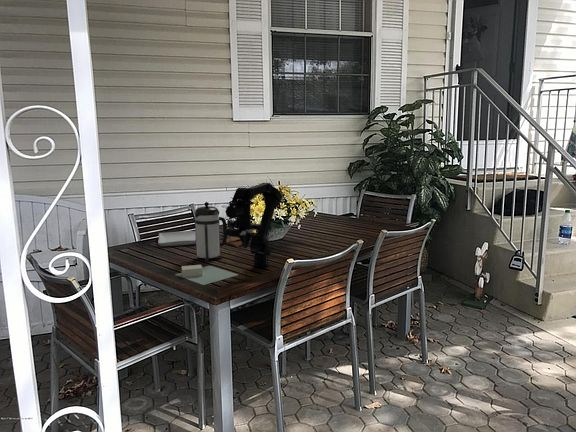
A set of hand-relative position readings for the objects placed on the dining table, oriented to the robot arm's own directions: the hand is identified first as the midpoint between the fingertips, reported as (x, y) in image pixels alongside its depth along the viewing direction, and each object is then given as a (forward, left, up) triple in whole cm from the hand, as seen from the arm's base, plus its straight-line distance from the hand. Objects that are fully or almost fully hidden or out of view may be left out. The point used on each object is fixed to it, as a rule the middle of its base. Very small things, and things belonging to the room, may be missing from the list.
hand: (245, 248), depth 214 cm
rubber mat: (+15, -10, -12) cm, 22 cm away
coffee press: (-5, -34, -12) cm, 36 cm away
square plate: (-17, -78, -13) cm, 81 cm away
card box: (+15, -13, -10) cm, 22 cm away
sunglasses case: (-34, -48, -13) cm, 60 cm away
